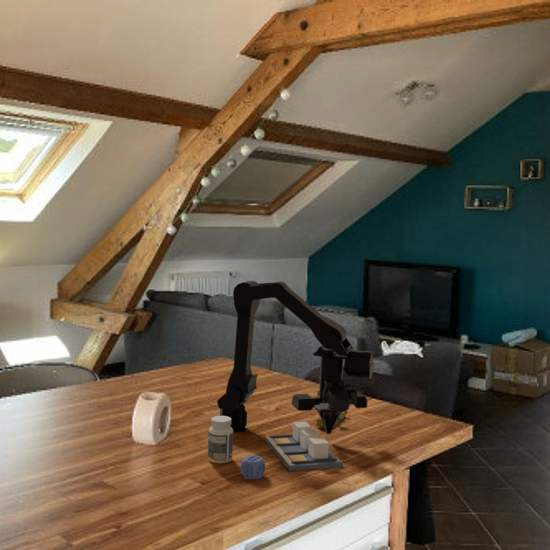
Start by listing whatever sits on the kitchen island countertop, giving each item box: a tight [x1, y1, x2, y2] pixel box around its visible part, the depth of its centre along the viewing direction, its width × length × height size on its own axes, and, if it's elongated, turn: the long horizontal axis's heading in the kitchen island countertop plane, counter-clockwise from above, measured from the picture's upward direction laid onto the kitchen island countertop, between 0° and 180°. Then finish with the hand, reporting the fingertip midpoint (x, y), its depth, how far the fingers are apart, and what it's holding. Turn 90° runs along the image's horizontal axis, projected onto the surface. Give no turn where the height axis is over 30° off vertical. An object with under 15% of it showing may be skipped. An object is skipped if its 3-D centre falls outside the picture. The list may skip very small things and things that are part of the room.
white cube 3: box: [292, 421, 312, 442], centre depth 173 cm, size 4×4×4 cm
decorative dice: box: [240, 455, 266, 480], centre depth 151 cm, size 4×4×4 cm
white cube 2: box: [300, 428, 320, 450], centre depth 167 cm, size 4×4×4 cm
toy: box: [315, 410, 349, 429], centre depth 191 cm, size 5×5×15 cm
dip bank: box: [263, 433, 344, 472], centre depth 167 cm, size 13×21×1 cm, turn 17°
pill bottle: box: [207, 415, 234, 464], centre depth 159 cm, size 6×6×10 cm
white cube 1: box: [308, 436, 330, 459], centre depth 161 cm, size 4×4×4 cm
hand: (328, 433), depth 175 cm, fingers closed
